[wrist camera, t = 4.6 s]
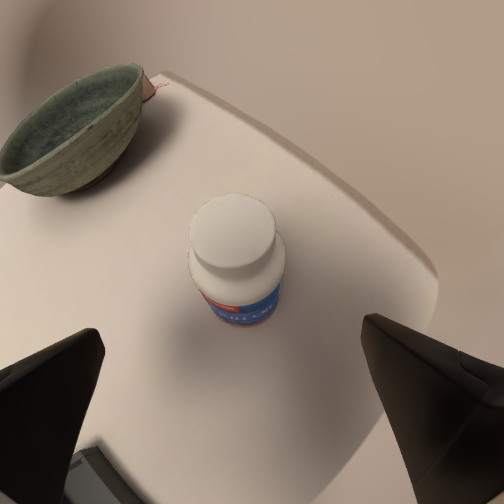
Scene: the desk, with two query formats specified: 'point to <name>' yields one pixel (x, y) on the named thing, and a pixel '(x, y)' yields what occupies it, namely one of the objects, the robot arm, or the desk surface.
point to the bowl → (75, 133)
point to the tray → (95, 481)
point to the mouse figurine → (149, 88)
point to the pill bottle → (237, 258)
